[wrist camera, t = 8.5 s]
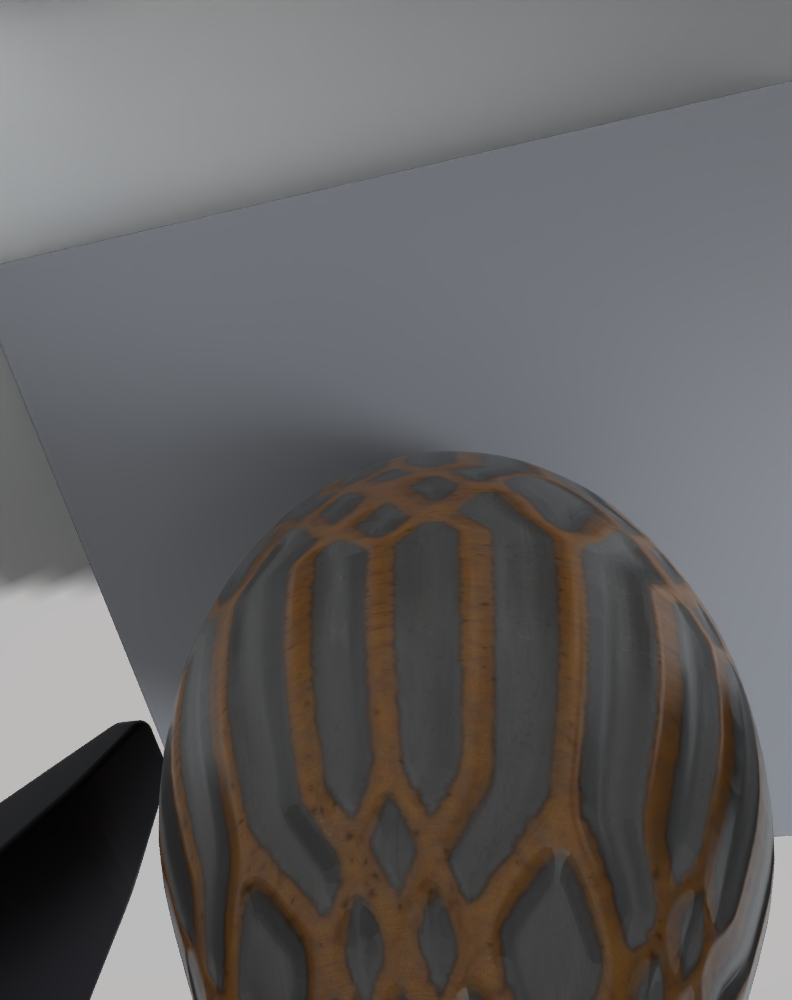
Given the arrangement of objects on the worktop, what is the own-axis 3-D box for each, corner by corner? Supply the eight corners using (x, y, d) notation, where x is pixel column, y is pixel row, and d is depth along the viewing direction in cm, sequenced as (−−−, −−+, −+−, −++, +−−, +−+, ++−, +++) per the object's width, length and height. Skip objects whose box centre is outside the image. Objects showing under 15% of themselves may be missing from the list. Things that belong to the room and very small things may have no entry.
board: (830, 88, 9) (896, 56, 8) (799, 776, 14) (838, 832, 13) (29, 271, 11) (-30, 270, 10) (236, 822, 16) (216, 875, 15)
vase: (652, 713, 12) (1092, 1657, 4) (320, 751, 13) (108, 1564, 5) (622, 369, 10) (1561, 883, 2) (222, 447, 11) (-497, 1011, 3)
